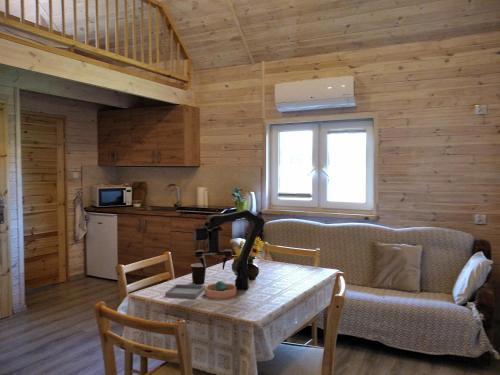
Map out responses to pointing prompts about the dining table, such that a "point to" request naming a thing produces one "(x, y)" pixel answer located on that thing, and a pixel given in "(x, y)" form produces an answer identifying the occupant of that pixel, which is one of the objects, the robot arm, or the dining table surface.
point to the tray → (185, 291)
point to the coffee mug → (198, 273)
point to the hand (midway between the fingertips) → (214, 269)
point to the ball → (220, 286)
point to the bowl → (213, 293)
